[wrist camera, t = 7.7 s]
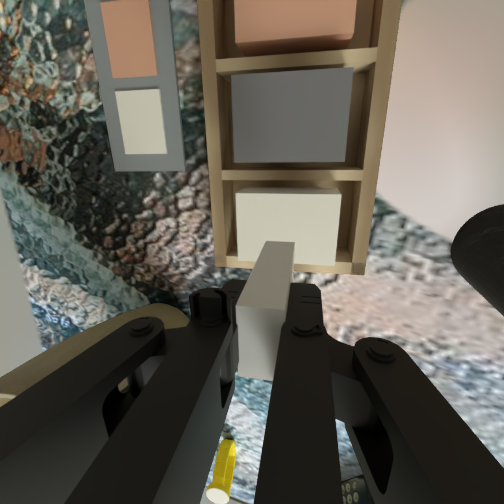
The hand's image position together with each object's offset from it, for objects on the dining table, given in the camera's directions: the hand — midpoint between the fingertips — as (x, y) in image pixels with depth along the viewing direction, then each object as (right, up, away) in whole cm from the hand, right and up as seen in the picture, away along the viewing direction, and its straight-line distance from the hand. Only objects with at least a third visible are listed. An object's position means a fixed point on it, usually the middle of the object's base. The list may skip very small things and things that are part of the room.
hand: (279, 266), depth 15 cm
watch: (-4, -26, +23) cm, 35 cm away
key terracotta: (+2, +17, +4) cm, 17 cm away
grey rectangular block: (+1, +10, +5) cm, 11 cm away
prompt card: (-11, +15, +9) cm, 20 cm away
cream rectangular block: (+1, +3, +7) cm, 8 cm away
